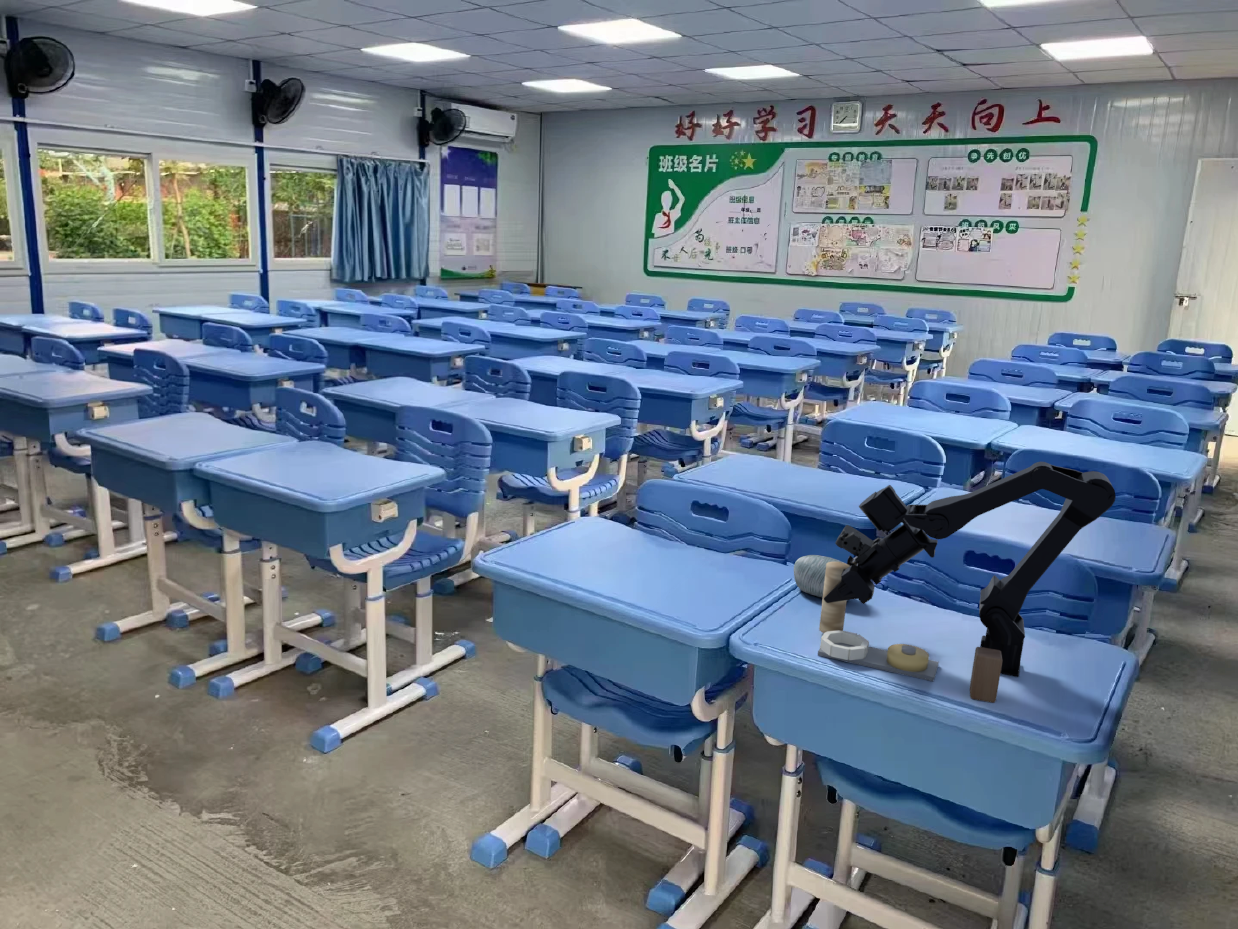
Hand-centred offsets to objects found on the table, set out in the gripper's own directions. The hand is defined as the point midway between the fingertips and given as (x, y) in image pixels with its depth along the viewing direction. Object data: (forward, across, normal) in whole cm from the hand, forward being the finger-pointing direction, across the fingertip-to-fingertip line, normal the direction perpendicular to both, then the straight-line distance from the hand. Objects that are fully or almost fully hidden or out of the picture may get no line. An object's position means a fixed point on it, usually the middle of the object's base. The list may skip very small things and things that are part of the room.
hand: (827, 596), depth 178 cm
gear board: (-2, +8, +13) cm, 15 cm away
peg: (+4, 0, +6) cm, 7 cm away
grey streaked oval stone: (+8, -20, +3) cm, 22 cm away
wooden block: (-15, +14, +26) cm, 33 cm away
